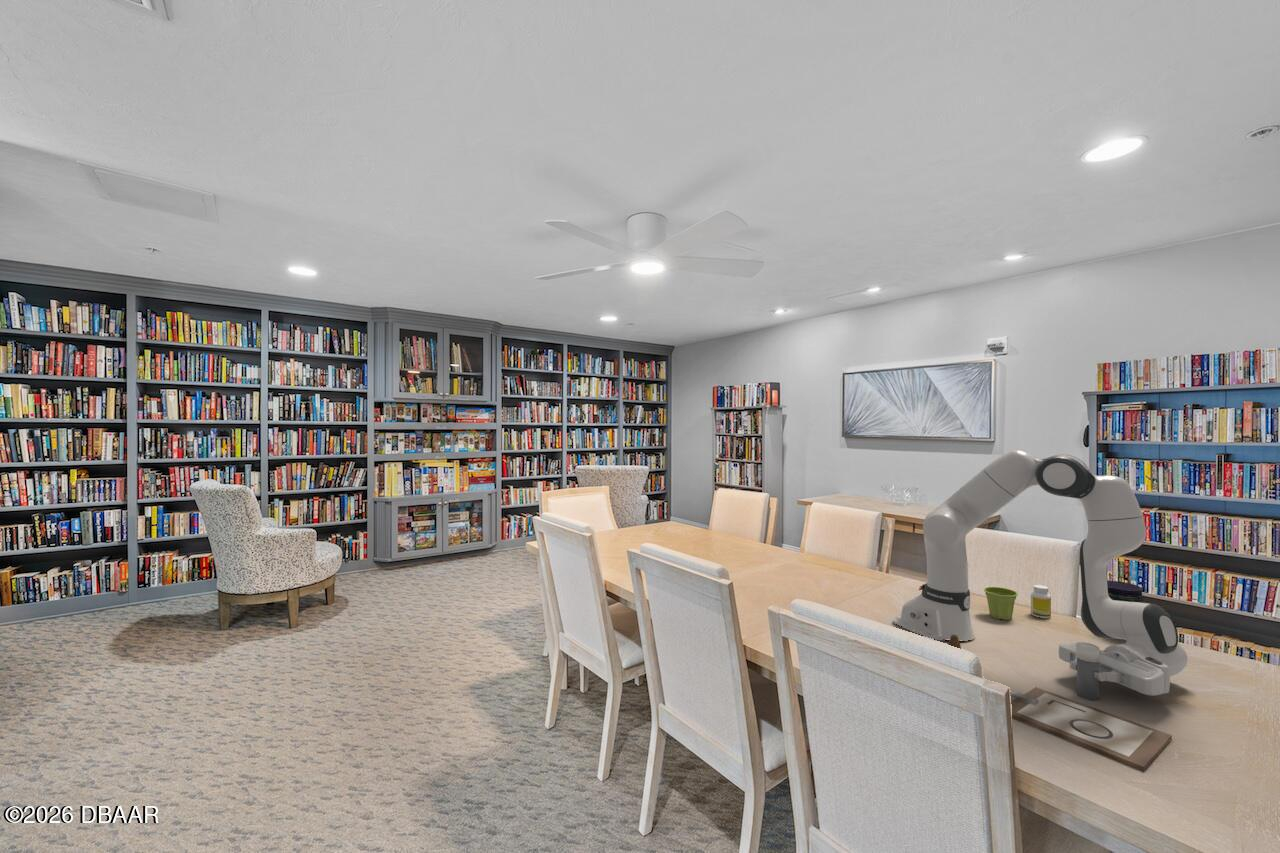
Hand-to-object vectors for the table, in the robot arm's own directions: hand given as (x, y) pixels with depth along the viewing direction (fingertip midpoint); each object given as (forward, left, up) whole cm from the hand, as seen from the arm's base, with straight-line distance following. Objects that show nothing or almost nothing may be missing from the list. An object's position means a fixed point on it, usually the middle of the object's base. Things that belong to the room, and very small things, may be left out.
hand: (1084, 671), depth 127 cm
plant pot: (-35, +40, -6) cm, 53 cm away
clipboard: (+4, -15, -6) cm, 17 cm away
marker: (0, +1, -6) cm, 6 cm away
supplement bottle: (-28, +52, -6) cm, 59 cm away
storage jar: (-8, +54, -6) cm, 55 cm away
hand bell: (-16, -28, -6) cm, 33 cm away
